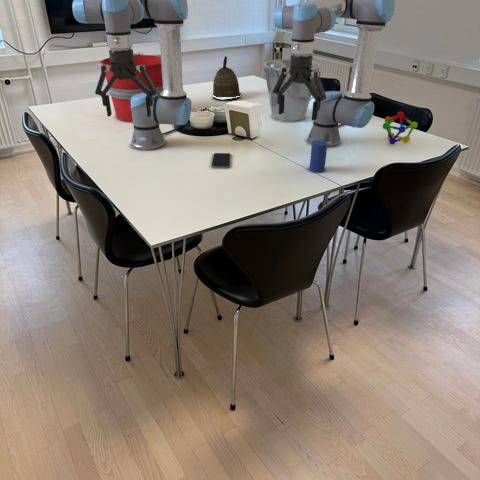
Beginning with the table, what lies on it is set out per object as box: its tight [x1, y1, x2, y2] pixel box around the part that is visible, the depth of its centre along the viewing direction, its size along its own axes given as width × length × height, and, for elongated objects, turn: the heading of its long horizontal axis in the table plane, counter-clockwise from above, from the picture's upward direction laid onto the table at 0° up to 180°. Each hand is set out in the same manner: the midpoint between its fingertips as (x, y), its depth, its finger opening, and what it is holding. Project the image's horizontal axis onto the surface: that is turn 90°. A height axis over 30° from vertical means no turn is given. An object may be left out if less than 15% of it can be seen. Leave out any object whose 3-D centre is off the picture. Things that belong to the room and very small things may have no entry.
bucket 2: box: [263, 58, 321, 123], centre depth 238 cm, size 30×30×28 cm
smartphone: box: [211, 152, 231, 169], centre depth 190 cm, size 7×1×15 cm
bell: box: [212, 56, 242, 97], centre depth 278 cm, size 19×26×20 cm
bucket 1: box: [97, 52, 163, 123], centre depth 239 cm, size 35×35×30 cm
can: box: [309, 140, 328, 174], centre depth 180 cm, size 6×6×12 cm
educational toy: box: [382, 110, 418, 145], centre depth 207 cm, size 16×13×15 cm
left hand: (129, 115), depth 151 cm, fingers open, 13 cm apart
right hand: (297, 116), depth 162 cm, fingers open, 13 cm apart
